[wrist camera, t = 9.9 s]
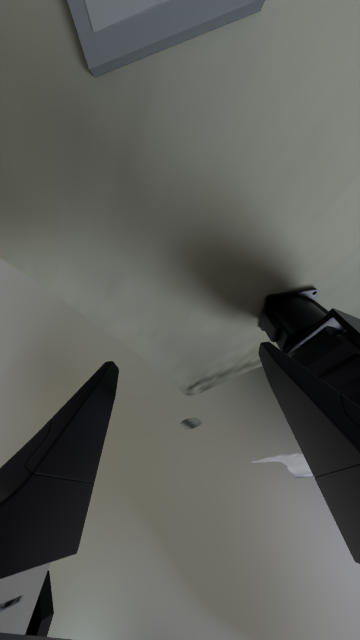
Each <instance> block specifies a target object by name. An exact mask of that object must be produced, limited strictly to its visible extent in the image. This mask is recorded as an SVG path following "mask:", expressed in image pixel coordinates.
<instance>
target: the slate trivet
mask: <svg viewBox="0 0 360 640" xmlns="http://www.w3.org/2000/svg"><path fill="white" fill-rule="evenodd" d="M67 1H68V5H69V8H70V11H71V14H72V17H73V20H74V23H75V27H76V30H77V33H78V36H79V39H80V42H81V46H82V49H83V52H84V55H85V58H86V61H87V64H88V68H89V70H90V71H91V73H92V74H93V75H94V77H96V76H99V75H101V74H104V73H106V72H109V71H111V70H114V69H116V68H119V67H121V66H124V65H126V64H129V63H131V62H134V61H136V60H139V59H141V58H144V57H146V56H149V55H151V54H154V53H156V52H159V51H161V50H164V49H166V48H169V47H171V46H173V45H176V44H178V43H181V42H183V41H186V40H188V39H191V38H193V37H196V36H198V35H201V34H203V33H206V32H208V31H211V30H213V29H216V28H218V27H221V26H223V25H226V24H228V23H231V22H233V21H236V20H238V19H241V18H243V17H246V16H248V15H251V14H253V13H256V12H258V11H261V8H262V6H263V3H264V1H265V0H67Z"/></svg>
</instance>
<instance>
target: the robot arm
mask: <svg viewBox="0 0 360 640" xmlns="http://www.w3.org/2000/svg"><path fill="white" fill-rule="evenodd" d="M313 292H314V293H313ZM318 293H319V290H317V289H316V288H312V289H306V290H299V291H293V292H286V293H280V294H273V295H268V296H267V297H266V299H265V305H264V309H263V311H262V315H261V321H260V324H261V327H260V328H261V330H262V331H265V332H266V333H267V335H268V337H269V338H270V340H271V341H272V342H276V343H277V345H278V347H279V348H280V349H278V348H277V347H275V346H274V345H273V344H271V343H270V342H262V343H261V344H260V347H259V357H260V360H261V362H262V365H263V368H264V371H265V374H266V377H267V379H268V382H269V384H270V386H271V388H272V390H273V392H274V394H275V397H276V398H277V401H278V403H279V405H280V407H281V409H282V411H283V413H284V415H285V417H286V419H287V421H288V424H289V426H290V428H291V430H292V432H293V434H294V435H295V438H296V440H297V442H298V444H299V446H300V448H301V451H302V453H303V455H304V457H305V459H306V461H307V463H308V465H309V467H310V469H311V471H312V473H313V475H314V477H315V480H316V482H317V484H318V486H319V488H320V490H321V492H322V494H323V496H324V498H325V501H326V503H327V505H328V507H329V509H330V511H331V513H332V515H333V517H334V519H335V521H336V524H337V525H338V528H339V530H340V532H341V534H342V536H343V538H344V540H345V542H346V544H347V546H348V548H349V551H350V553H351V555H352V556H353V558H354V560H355V562H357V563H359V564H360V319H358V318H356V317H353V316H351V315H348V314H346V313H344V312H341V311H339V310H336V309H334V308H333V309H331V310H330V311H327V310H326V309H325V308H324V307H322V306H321V305H320V304H318V303H317V302H316V301H315V300H316V298H317V295H318ZM270 298H271V299H270ZM269 299H270V300H269ZM118 374H119V369H118V367H117V366H116V365H115V363H114V362H113V361H108V362H105V363H104V364H103V365H102V366H101V367H100V369H98V370H97V371H96V373H95V374H94V375H93V376H92V377H91V378H90V379H89V380H88V381H87V382H86V383H85V384H84V385H83V386H82V387H81V388H80V389H79V390H78V391H77V393H75V394H74V395H73V397H72V398H71V399H70V400H69V401H68V402H67V403H66V404H65V405H64V406H63V407H62V408H61V409H60V410H59V411H58V412H57V413H56V414H55V415H54V416H53V418H51V419H50V420H49V421H48V422H47V424H45V426H44V427H43V428H42V429H41V430H40V431H39V432H38V433H37V434H36V435H35V436H34V437H33V438H32V439H31V440H29V442H27V443H26V444H25V445H24V446H23V447H22V448H21V449H20V450H19V451H18V452H17V453H16V454H15V455H14V456H13V457H12V458H11V459H9V460H8V461H7V462H6V463H5V464H4V465H3V466H2V467H1V468H0V640H70V639H60V638H51V637H50V638H49V637H47V634H48V631H49V627H50V624H51V621H52V617H53V614H54V612H53V601H52V592H51V583H50V575H49V570H48V568H49V565H50V562H53V561H56V560H59V559H62V558H65V557H68V556H71V555H74V554H76V553H77V551H78V547H79V544H80V539H81V536H82V531H83V527H84V523H85V519H86V515H87V511H88V507H89V502H90V499H91V494H92V490H93V486H94V482H95V478H96V473H97V469H98V465H99V461H100V456H101V453H102V449H103V445H104V440H105V436H106V432H107V428H108V424H109V420H110V416H111V412H112V407H113V403H114V399H115V395H116V388H117V381H118Z"/></svg>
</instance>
